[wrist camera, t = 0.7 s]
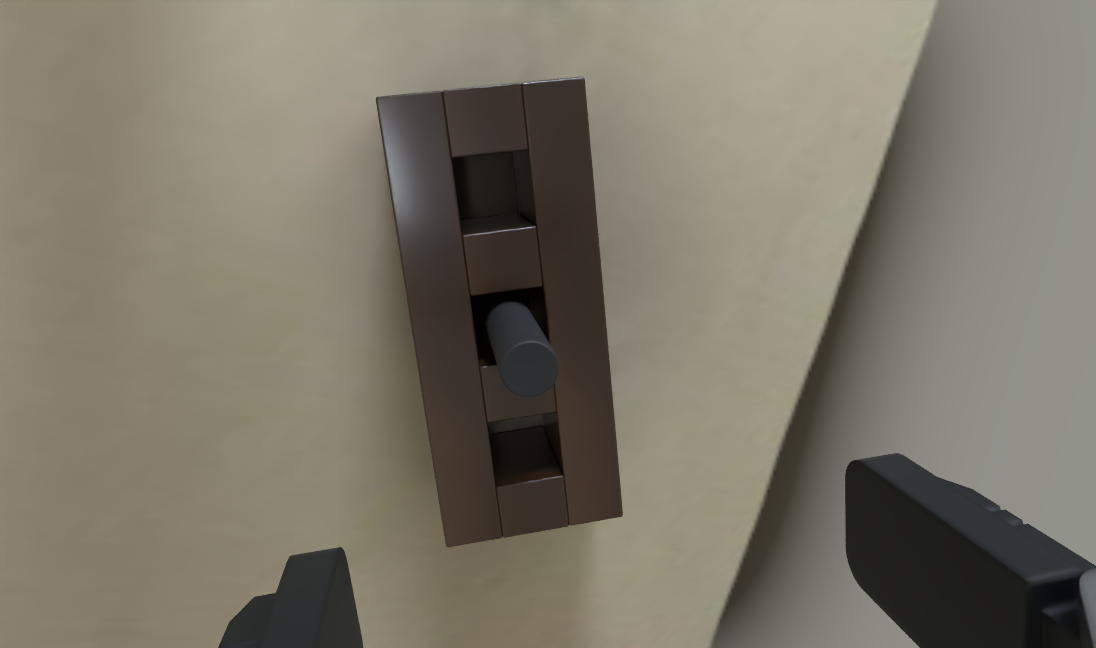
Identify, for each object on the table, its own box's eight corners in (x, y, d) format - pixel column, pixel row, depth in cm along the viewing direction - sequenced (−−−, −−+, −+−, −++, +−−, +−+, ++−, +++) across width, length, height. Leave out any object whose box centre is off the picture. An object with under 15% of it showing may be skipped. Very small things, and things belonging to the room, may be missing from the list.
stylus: (475, 280, 35) (496, 345, 24) (516, 275, 36) (556, 336, 24) (480, 320, 36) (504, 402, 24) (520, 315, 36) (562, 393, 25)
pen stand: (444, 487, 38) (446, 548, 32) (385, 105, 33) (375, 96, 27) (594, 461, 39) (623, 517, 33) (558, 88, 34) (585, 76, 28)
